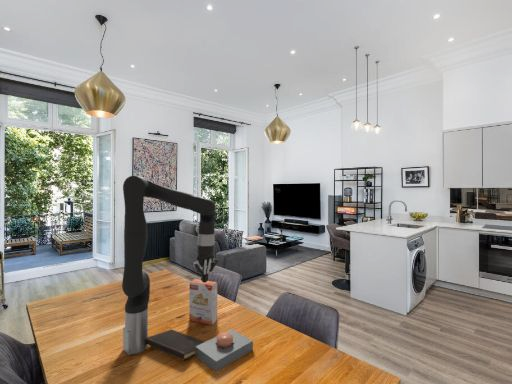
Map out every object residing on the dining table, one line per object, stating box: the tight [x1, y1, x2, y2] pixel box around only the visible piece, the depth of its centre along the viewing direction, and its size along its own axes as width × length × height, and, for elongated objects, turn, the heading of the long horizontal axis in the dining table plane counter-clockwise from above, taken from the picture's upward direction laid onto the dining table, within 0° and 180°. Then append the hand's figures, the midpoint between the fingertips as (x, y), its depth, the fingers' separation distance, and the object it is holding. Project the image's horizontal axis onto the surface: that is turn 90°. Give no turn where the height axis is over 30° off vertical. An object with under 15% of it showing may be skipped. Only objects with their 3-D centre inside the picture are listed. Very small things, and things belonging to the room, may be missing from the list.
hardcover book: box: [146, 329, 205, 361], centre depth 120 cm, size 16×23×2 cm
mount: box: [194, 328, 254, 373], centre depth 117 cm, size 20×14×4 cm
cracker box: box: [188, 278, 218, 326], centre depth 145 cm, size 14×6×21 cm, turn 69°
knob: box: [216, 331, 233, 349], centre depth 117 cm, size 7×7×6 cm
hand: (204, 281), depth 123 cm, fingers closed
